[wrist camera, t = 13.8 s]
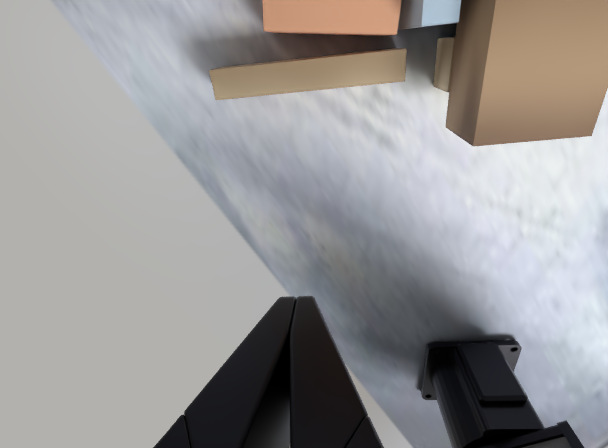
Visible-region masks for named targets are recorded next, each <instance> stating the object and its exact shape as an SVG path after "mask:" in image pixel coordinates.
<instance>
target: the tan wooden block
mask: <svg viewBox="0 0 608 448" xmlns="http://www.w3.org/2000/svg"><path fill="white" fill-rule="evenodd" d="M607 88H608V0H461V6H460V15H459V22H457V27H456V36H455V45H454V54H453V63H452V72H451V82H450V91H449V100H448V109H447V118H446V128H448V129H449V130H450V131H452V132H453V133H455V134H456V135H458V136H459V137H460V138H462V139H463V140H465V141H466V142H468V143H469V144H471V145H472V146H483V145H494V144H505V143H517V142H528V141H539V140H551V139H562V138H573V137H585V136H592V133H593V130H594V127H595V124H596V121H597V118H598V115H599V112H600V109H601V106H602V103H603V100H604V97H605V94H606V91H607Z"/></svg>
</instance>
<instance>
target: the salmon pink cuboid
mask: <svg viewBox="0 0 608 448" xmlns="http://www.w3.org/2000/svg"><path fill="white" fill-rule="evenodd" d="M401 2H402V0H263V26H264V31H267V32H272V33H296V34H333V35H370V36H387V35H396V34H397V29H398V23H399V16H400V9H401Z"/></svg>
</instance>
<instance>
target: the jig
mask: <svg viewBox="0 0 608 448" xmlns="http://www.w3.org/2000/svg"><path fill="white" fill-rule="evenodd" d="M454 45H455V36H454V37H445V38H438V41H437V52H436V63H435V74H434V84H433V87H436V88H438V89H441V90H443V91H446V92H449V91H450V82H451V72H452V63H453V54H454ZM406 52H407V49H403V48H391V49H382V50H372V51H363V52H354V53H345V54H336V55H327V56H318V57H309V58H300V59H290V60H281V61H272V62H263V63H254V64H245V65H236V66H227V67H220V68H216V69H212V70H209V72H210V77H211V81H212V86H213V90H214V95H215V99H216V100H223V99H233V98H243V97H253V96H263V95H273V94H283V93H293V92H303V91H313V90H323V89H333V88H343V87H353V86H362V85H372V84H382V83H392V82H402V81H405V71H406Z"/></svg>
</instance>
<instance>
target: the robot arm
mask: <svg viewBox="0 0 608 448" xmlns="http://www.w3.org/2000/svg"><path fill="white" fill-rule="evenodd" d="M520 352H521V346H520V345H519V343H518V342H517V341H514V340H506V341H469V342H434V343H430V344H429V345H428V346H427V350H426V358H425V365H424V373H423V380H422V388H421V394H422V398H423V399H425V400H437V401H438V405H439V408H440V411H441V414H442V417H443V420H444V423H445V426H446V430H447V433H448V436H449V439H450V442H451V445H452V448H584V447H583V445H582V444H581V442H580V441H579V439H578V437H577V436H576V434H575V433H574V431H573V430H572V428H571V427H570V425H569V424H568V422H567V421H563V422H559V423H557V424H558V425H555V426H552V427H548V428H545V427H544V426H543V424H542V422H541V420H540V419H539V417H538V415H537V413H536V412H535V410H534V408H533V406H532V405H531V403H530V401H529V399H528V397H527V395H526V393H525V391H524V389H523V388H522V386H521V384H520V383H519V381H518V379H517V377H516V376H515V374H514V369H515V366H516V363H517V360H518V357H519V355H520ZM184 415H185V416H184ZM184 415H181V416H180V417H179V418H178V419H177V421H176V422H175V423H174V424H173V425H172V427H171V428H170V429H169V430H168V431H167V433H166V434H165V435H164V436H163V437H162V438H161V439H160V441H159V442H158V443H157V444H156V445H155V446H154V447H153V448H289V447H290V448H384V447H383V445H382V443H381V441H380V439H379V437H378V435H377V432H376V430H375V428H374V426H373V424H372V422H371V419H370V418H369V417H368V416H367V415H368V414H367V411H366V409H365V407H364V405H363V403H362V400H361V399H360V396H359V394H358V392H357V390H356V387H355V385H354V383H353V381H352V379H351V376H350V374H349V372H348V370H347V368H346V366H345V363H344V361H343V359H342V357H341V355H340V353H339V350H338V348H337V346H336V344H335V342H334V340H333V337H332V335H331V333H330V331H329V329H328V326H327V324H326V322H325V320H324V318H323V316H322V313H321V311H320V309H319V307H318V305H317V303H316V300H315V298H314V297H313V296H299V297H297V299H296V297H280V298H279V299H278V300H277V301H276V302H275V303H274V305H273V306H272V307H271V308H270V309H269V311H268V312H267V313H266V314H265V315H264V316H263V318H262V319H261V320H260V321H259V322H258V324H257V325H256V326H255V327H254V328H253V330H252V331H251V332H250V333H249V334H248V336H247V337H246V338H245V339H244V341H243V342H242V343H241V344H240V345H239V346H238V348H237V349H236V350H235V351H234V353H233V354H232V355H231V356H230V357H229V359H228V360H227V361H226V362H225V363H224V364H223V366H222V367H221V368H220V369H219V371H218V372H217V373H216V374H215V375H214V376H213V378H212V379H211V380H210V381H209V382H208V384H207V385H206V386H205V387H204V388H203V390H202V391H201V392H200V393H199V395H198V396H197V397H196V398H195V399H194V401H193V402H192V403H191V404H190V405H189V406H188V408H187V409H186V410H185V412H184Z"/></svg>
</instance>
